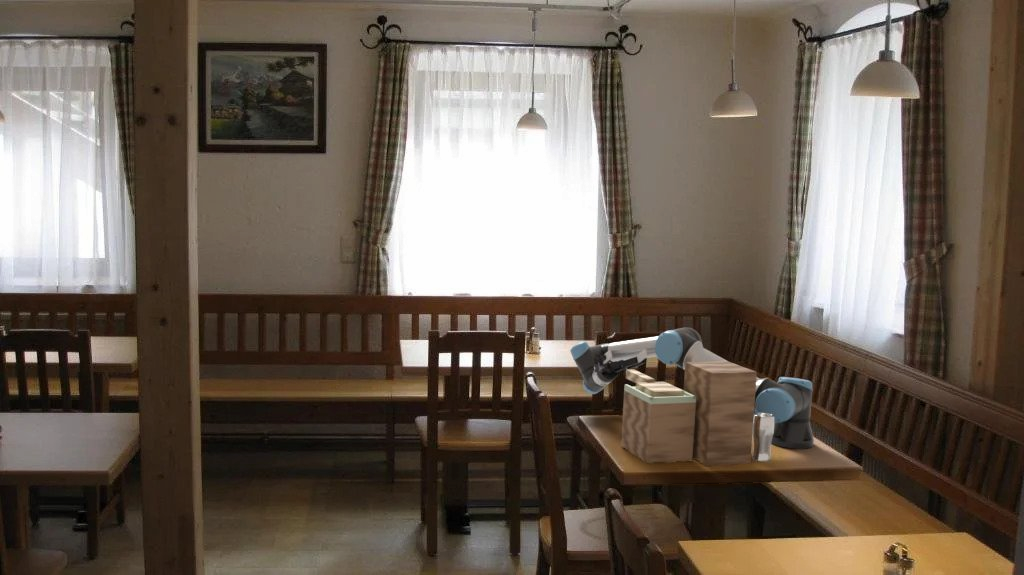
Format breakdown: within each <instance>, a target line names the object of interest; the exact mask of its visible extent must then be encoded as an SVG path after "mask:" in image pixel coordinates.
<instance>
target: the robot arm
mask: <svg viewBox="0 0 1024 575" xmlns="http://www.w3.org/2000/svg"><path fill="white" fill-rule="evenodd" d="M569 353H570V354H571V356H572V359H573V361H574V363H575V365H576V366H577V368H578V370H579V372H580V374H581V376H582V378H583V381H582V387H583V390H584V391H585V392H586V393H587V394H590V395H596V394H599V392H601V391H603V390H604V389H605V388H606V387H607V386H608V385H609V384H610V383H611V382H612V381H614V380H615V379H616V378H618V376H619V373H620V372H621V371H623V370H624V371H626V370H634V368H638V367H640V366H642V365H644V364H646V363H647V362H646V360H647V359H649V358H657V359H658V360H659V361H660V362H661V363H662V364H664V365H675V366H676V367H679V368H680V369H682V370H684V371H685V362H718V361H728V360H726V359H724V358H723V357H721V356H719V355H717V354H715V353H714V352H712V351H710V350H708V349H707V348H704V345H703V340H702V338H701V335H700V333H699V332H698V331H697V330H695V329H694V328H692V327H688V326H687V327H680V328H675V329H671V330H666V331H663V332H662V333H660V334H659V335H656V336H650V337H644V338H635V339H630V340H621V341H615V342H611V343H600V344H597V345H592V346H590V345H589V343H588V342H587V341H582V342H581V341H580V342H579V343H577V344H575V345H573V346H572V347H571V348H570V352H569ZM813 391H814V390H813V382H812V381H810V380H808V379H802V378H797V377H788V376H780V377H779V378H778V380H777V382H776V381H774V380H772V379H771V378H769V377H765V378H759V377H758V376H757V378H756V392H755V406H754V409H755V410H757V411H758V413H759V412H762V413H770V414H773V415H774V416H775V427H774V435H773V439H772V443H771V445H775V446H778V447H782V448H786V449H796V450H797V449H799V450H801V449H809V448H812V447H813V446H814V441H815V440H814V436H813V430H812V427H811V413H812V411H811V410H812V399H813Z"/></svg>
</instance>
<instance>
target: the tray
mask: <svg viewBox="0 0 1024 575" xmlns="http://www.w3.org/2000/svg"><path fill="white" fill-rule="evenodd" d="M623 390H625V391H627V392H628V393H630V394H632V395H634V396H636V397H638V398H640V399H642V400H644V401H646V402H648V403H650V404H667V403H694V402H696V396H694V395H692V394H690V393H688V392H686V391H684V396H670V397H652V396H650V395H648V394H646V393H644V392H642V391H640V390H638V389H636V385H635V386H631V385H629V384H627V383H626V384H624V388H623Z"/></svg>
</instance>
